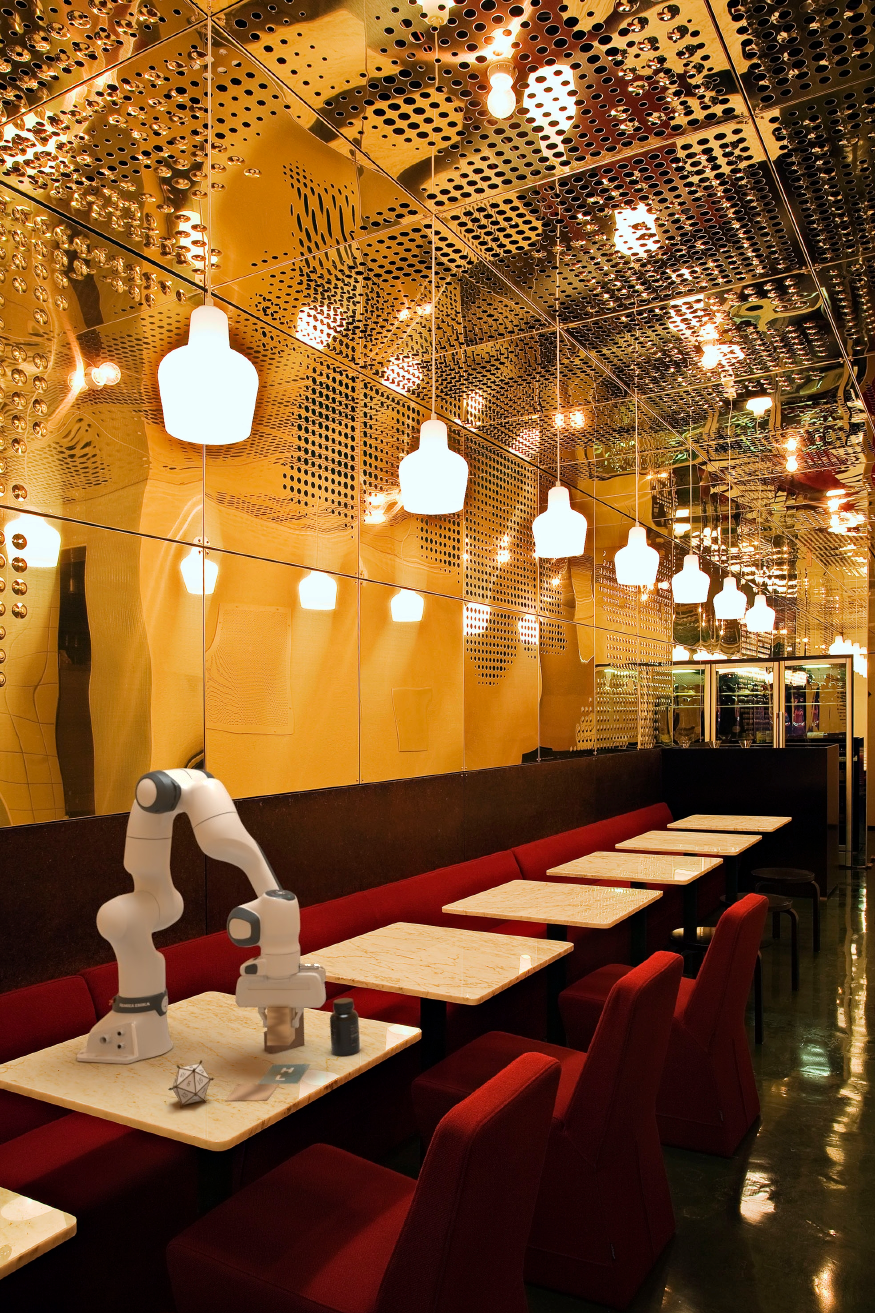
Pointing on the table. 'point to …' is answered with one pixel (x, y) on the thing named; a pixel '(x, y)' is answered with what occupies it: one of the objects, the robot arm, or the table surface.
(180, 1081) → the game die
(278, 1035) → the oak block
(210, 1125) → the table surface
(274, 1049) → the wooden block
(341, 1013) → the supplement bottle
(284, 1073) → the tile
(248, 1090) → the cork mat
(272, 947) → the robot arm
